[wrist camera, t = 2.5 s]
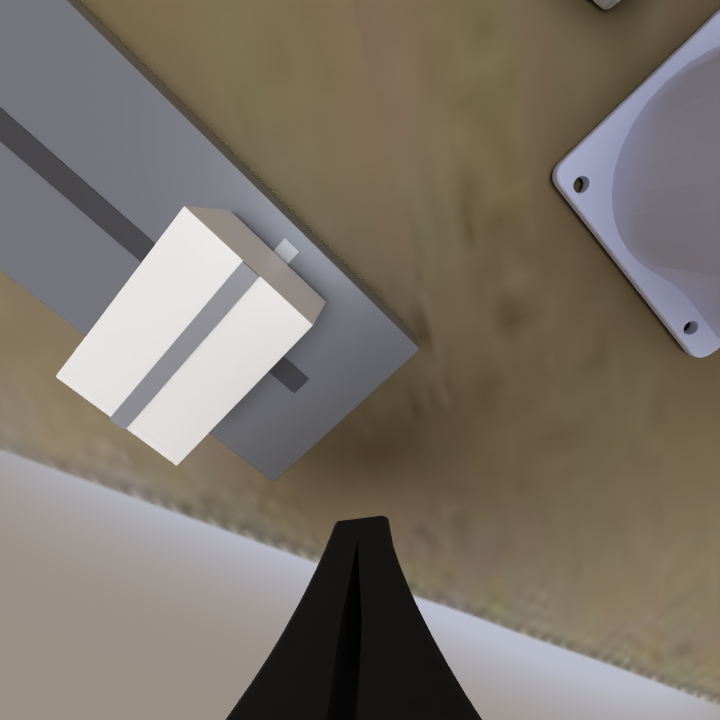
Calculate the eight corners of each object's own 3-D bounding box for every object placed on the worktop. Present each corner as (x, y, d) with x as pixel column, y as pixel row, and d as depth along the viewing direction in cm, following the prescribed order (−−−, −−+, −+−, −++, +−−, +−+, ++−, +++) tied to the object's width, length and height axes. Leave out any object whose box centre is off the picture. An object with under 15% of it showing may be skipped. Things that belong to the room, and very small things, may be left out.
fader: (326, 301, 12) (312, 326, 10) (215, 416, 14) (175, 467, 11) (229, 209, 12) (182, 206, 9) (123, 343, 13) (52, 377, 10)
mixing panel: (413, 333, 15) (419, 349, 13) (283, 453, 17) (273, 483, 15) (-69, -147, 11) (-164, -227, 9) (-165, 92, 13) (-259, 70, 11)
